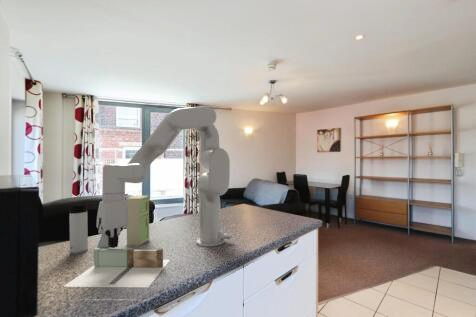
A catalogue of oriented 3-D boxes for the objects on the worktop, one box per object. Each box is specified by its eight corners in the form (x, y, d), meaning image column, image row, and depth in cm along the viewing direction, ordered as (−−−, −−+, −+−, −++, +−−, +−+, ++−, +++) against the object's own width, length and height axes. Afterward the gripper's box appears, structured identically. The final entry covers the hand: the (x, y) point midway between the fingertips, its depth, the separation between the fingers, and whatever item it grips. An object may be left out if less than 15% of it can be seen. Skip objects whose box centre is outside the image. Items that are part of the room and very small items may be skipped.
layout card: (170, 260, 93) (170, 259, 93) (148, 288, 73) (148, 287, 73) (102, 260, 94) (102, 259, 94) (62, 287, 74) (62, 286, 74)
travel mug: (68, 256, 99) (67, 206, 99) (71, 251, 105) (70, 203, 105) (87, 253, 102) (86, 204, 102) (88, 248, 107) (87, 202, 107)
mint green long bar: (128, 264, 88) (128, 247, 88) (126, 266, 87) (126, 249, 87) (96, 264, 89) (96, 247, 89) (93, 266, 87) (93, 249, 87)
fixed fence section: (163, 265, 88) (162, 248, 88) (161, 267, 86) (161, 250, 86) (129, 265, 89) (129, 248, 89) (127, 267, 87) (127, 250, 87)
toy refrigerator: (141, 245, 109) (140, 198, 109) (126, 245, 111) (125, 198, 111) (151, 240, 117) (150, 195, 117) (137, 239, 119) (136, 195, 119)
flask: (101, 243, 114) (101, 221, 114) (118, 242, 115) (117, 220, 115) (94, 248, 107) (93, 225, 107) (111, 248, 107) (111, 225, 107)
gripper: (125, 194, 100) (125, 239, 100) (87, 198, 88) (86, 251, 87) (137, 195, 97) (137, 243, 96) (99, 200, 84) (99, 255, 84)
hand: (113, 246), depth 92 cm, fingers closed
